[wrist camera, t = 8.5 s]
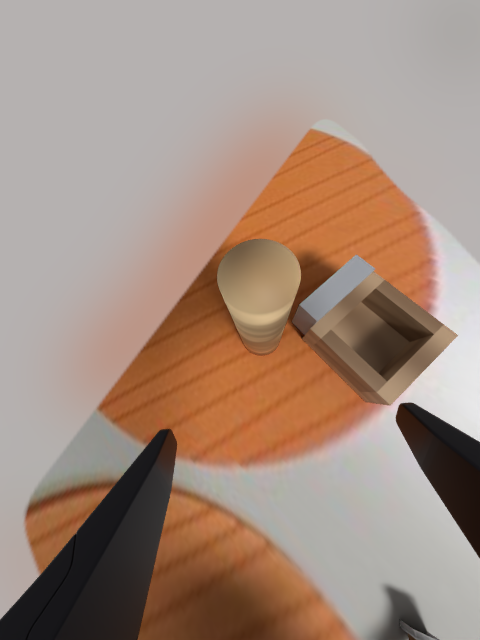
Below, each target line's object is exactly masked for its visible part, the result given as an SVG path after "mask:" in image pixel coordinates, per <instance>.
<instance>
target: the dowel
mask: <svg viewBox="0 0 480 640" xmlns="http://www.w3.org/2000/svg"><path fill="white" fill-rule="evenodd" d="M300 280H301V269H300V265H299V262H298V260H297V258H296V257H295V255H294V254H293V253H292V252H291V251H290V250H289V249H288V248H287V247H286V246H284V245H282V244H280V243H278V242H276V241H272V240H267V239H253V240H248V241H245V242H242V243H240V244H238V245H236V246H235V247H233V248H232V249H231V250H230V251H229V252H228V253H227V254H226V255H225V256H224V257H223V259H222V261H221V263H220V265H219V268H218V272H217V283H218V287H219V289H220V292H221V294H222V296H223V299H224V301H225V303H226V305H227V308H228V310H229V312H230V314H231V317H232V319H233V321H234V323H235V325H236V328H237V330H238V332H239V334H240V337H241V339H242V341H243V343H244V346H245V347H246V349H247V350H248V351H250V352H251V353H253V354H255V355H260V356H263V355H268V354H270V353H272V352H273V351H274V350H275V349H276V348H277V347H278V345H279V342H280V339H281V336H282V334H283V331H284V328H285V325H286V322H287V319H288V316H289V313H290V311H291V308H292V305H293V302H294V299H295V296H296V293H297V290H298V287H299V285H300Z"/></svg>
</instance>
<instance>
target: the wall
mask: <svg viewBox="0 0 480 640" xmlns="http://www.w3.org/2000/svg"><path fill="white" fill-rule="evenodd" d="M374 270H375V268H374V267H372V266H371V265H370V264H368V263H367V262H366V261H364V260H363V259H362V258H360V257H359V256H358V255H355V256H354V257H353V258H352V259H351V260H350V261H348V262H347V263H346V264H345V265H344V266H343V267H342V268H340V269H339V270H338V271H337V272H336V273H335V274H334V275H332V276H331V277H330V278H329V279H328V280H327V281H326V282H324V283H323V284H322V285H321V286H320V287H319V288H318V289H316V290H315V291H314V292H313V293H312V294H311V295H310V296H308V297H307V298H306V299H305V300H304V301H303V302H302V303H300V304H299V306H298V309H297V311H296V313H295V316H294V318H293V320H292V323H293V324H294V325H295V326H296V327H297V328H298V329H299V330H300V331H301V332H302V333H303V334H304V335H306V333H307V332H308V331H309V329H310V328H311V327H312V326H314V325H315V324H316V323H317V322H318V321H319V320H320V319H321V318H322V317H323V316H325V315H326V314H327V313H328V312H329V311H330V310H331V309H332V308H333V307H335V306H336V305H337V304H338V303H339V302H340V301H341V300H342V299H343V298H345V297H346V296H347V295H348V294H349V293H350V292H351V291H352V290H353V289H354V288H356V287H357V286H358V285H359V284H360V283H361V282H362V281H363V280H364V279H366V278H367V277H368V276H369V275H370V274H371V273H372V272H373V271H374Z"/></svg>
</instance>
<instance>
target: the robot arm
mask: <svg viewBox="0 0 480 640" xmlns="http://www.w3.org/2000/svg"><path fill="white" fill-rule="evenodd" d="M396 422H397V425H398V427H399V428H400V430H401V432H402V434H403V436H404V438H405V440H406V442H407V443H408V445H409V447H410V449H411V451H412V453H413V455H414V456H415V458H416V460H417V462H418V464H419V466H420V467H421V469H422V470H423V472H424V474H425V475H426V477H427V478H428V480H429V481H430V483H431V484H432V486H433V488H434V489H435V491H436V492H437V494H438V495H439V497H440V498H441V500H442V501H443V503H444V504H445V506H446V507H447V509H448V511H449V512H450V514H451V515H452V517H453V518H454V520H455V521H456V523H457V524H458V526H459V527H460V529H461V530H462V532H463V534H464V535H465V537H466V538H467V540H468V541H469V543H470V544H471V546H472V547H473V549H474V550H475V552H476V553H477V555H478V557H479V558H480V442H479V441H477V440H475V439H474V438H472V437H470V436H469V435H467V434H465V433H463V432H462V431H460V430H458V429H457V428H455V427H453V426H452V425H450V424H448V423H446V422H445V421H443V420H441V419H440V418H438V417H436V416H435V415H433V414H431V413H429V412H428V411H426V410H424V409H423V408H421V407H419V406H418V405H416V404H414V403H401V404H400V405H399V407H398V411H397V415H396ZM176 450H177V441H176V439H175V437H174V434H173V432H172V430H171V429H162V430H160V431H159V432H158V433H157V434H156V436H155V437H154V438H153V439H152V440H151V442H150V443H149V444H148V445H147V447H146V448H145V449H144V450H143V451H142V453H141V454H140V455H139V456H138V457H137V459H136V460H135V461H134V462H133V464H132V465H131V466H130V467H129V468H128V470H127V471H126V472H125V473H124V475H123V476H122V477H121V478H120V479H119V481H118V482H117V483H116V484H115V486H114V487H113V488H112V489H111V490H110V492H109V493H108V494H107V495H106V497H105V498H104V499H103V500H102V501H101V503H100V504H99V505H98V506H97V508H96V509H95V510H94V511H93V512H92V514H91V515H90V516H89V517H88V518H87V520H86V521H85V522H84V523H83V525H82V526H81V527H80V528H79V529H78V531H77V533H76V534H74V535H73V537H72V538H71V539H70V540H69V542H68V543H67V544H66V545H65V546H64V548H63V549H62V550H61V551H60V552H59V554H58V555H57V556H56V557H55V558H54V560H53V561H52V562H51V563H50V564H49V565H48V567H47V568H46V569H45V570H44V571H43V573H42V574H41V575H40V576H39V577H38V578H37V579H36V580H35V582H34V583H33V584H32V585H31V586H30V587H29V588H28V590H27V591H26V592H25V593H24V594H23V595H22V596H21V597H20V599H19V600H18V601H17V602H16V603H15V604H14V605H13V606H12V607H11V608H10V610H9V611H8V612H7V613H6V614H5V615H4V616H3V617H2V618H1V619H0V640H137V639H138V635H139V630H140V626H141V621H142V617H143V612H144V608H145V604H146V599H147V595H148V590H149V586H150V582H151V577H152V573H153V568H154V564H155V559H156V555H157V551H158V546H159V542H160V537H161V533H162V529H163V524H164V520H165V515H166V511H167V506H168V502H169V498H170V493H171V487H172V480H173V473H174V465H175V458H176Z"/></svg>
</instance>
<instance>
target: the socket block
mask: <svg viewBox="0 0 480 640" xmlns="http://www.w3.org/2000/svg"><path fill="white" fill-rule="evenodd" d="M457 336H458V335H457V334H456V333H454V332H453V331H452V330H450V329H449V328H448V327H446V326H445V325H444V324H442V323H441V322H440V321H438V320H437V319H436V318H434V317H433V316H432V315H430V314H429V313H428V312H426V311H425V310H424V309H423V308H421V307H420V306H419V305H417V304H416V303H415V302H413V301H412V300H411V299H409V298H408V297H407V296H405V295H404V294H403V293H401V292H400V291H399V290H397V289H396V288H395V287H393V286H392V285H391V284H390V283H388V282H387V281H386V280H384V279H383V278H382V277H380V276H379V275H378V274H376V273H375V272H374V271H373V272H372V273H371V274H370V275H369V276H368V277H367V278H366V279H364V280H363V281H362V282H361V283H360V284H359V285H358V286H357V287H356V288H354V289H353V290H352V291H351V292H350V293H349V294H348V295H347V296H346V297H345V298H343V299H342V300H341V301H340V302H339V303H338V304H337V305H336V306H335V307H333V308H332V309H331V310H330V311H329V312H328V313H327V314H326V315H325V316H323V317H322V318H321V319H320V320H319V321H318V322H317V323H316V324H315V325H314V326H312V327H311V328H310V329H309V331H308V332H307V333H306V335H305V336H304V337H303V338H302V339H303V340H304V341H305V342H306V343H307V344H308V345H309V346H310V347H311V348H312V349H313V350H314V351H315V352H316V353H317V354H318V355H319V356H320V357H321V358H322V359H323V360H324V361H325V362H326V363H327V364H328V365H329V366H330V367H331V368H332V369H333V370H334V371H335V372H336V373H337V374H338V375H339V376H340V377H341V378H342V379H343V380H344V381H345V382H346V383H347V384H348V385H349V386H350V387H351V388H352V389H353V390H354V391H355V392H356V393H357V394H358V395H359V396H360V397H361V398H362V399H363V400H364V401H365V402H369V403H376V404H384V405H391V404H392V403H393V402H394V401H395V400H396V399H397V398H398V397H399V396H400V395H401V394H402V393H403V392H404V391H405V390H406V389H407V388H408V387H409V386H410V385H411V384H412V383H413V381H414V380H415V379H416V378H417V377H418V376H419V375H420V374H421V373H422V372H423V371H424V370H425V369H426V368H427V367H428V366H429V365H430V364H431V363H432V362H433V361H434V360H435V359H436V358H437V357H438V356H439V355H440V354H441V353H442V351H443V350H444V349H445V348H446V347H447V346H448V345H449V344H450V343H451V342H452V341H453V340H454V339H455V338H456V337H457Z"/></svg>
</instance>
